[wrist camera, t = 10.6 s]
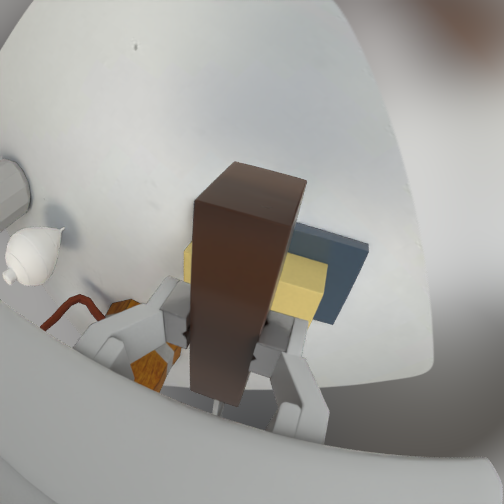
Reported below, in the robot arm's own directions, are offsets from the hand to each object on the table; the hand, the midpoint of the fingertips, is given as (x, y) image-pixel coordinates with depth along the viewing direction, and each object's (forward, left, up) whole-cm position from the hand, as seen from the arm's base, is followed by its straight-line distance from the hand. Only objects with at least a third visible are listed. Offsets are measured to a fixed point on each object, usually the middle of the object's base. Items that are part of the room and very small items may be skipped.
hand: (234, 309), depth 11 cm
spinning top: (+15, -29, -16) cm, 37 cm away
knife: (+5, 0, -2) cm, 5 cm away
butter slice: (+10, +3, -15) cm, 18 cm away
